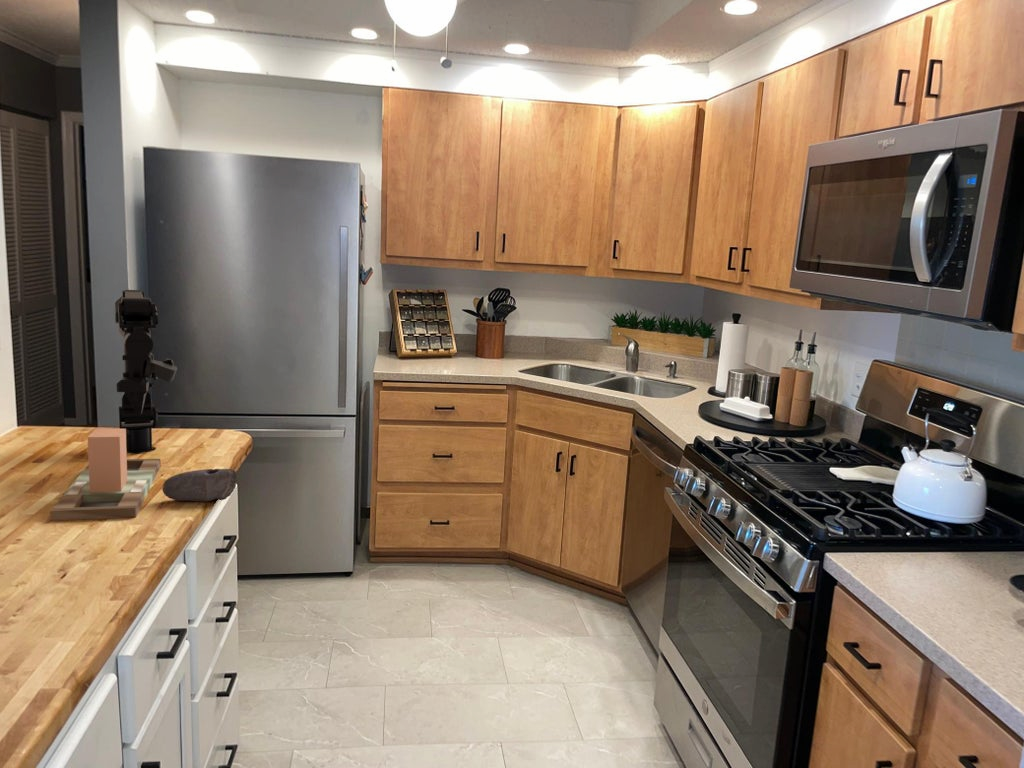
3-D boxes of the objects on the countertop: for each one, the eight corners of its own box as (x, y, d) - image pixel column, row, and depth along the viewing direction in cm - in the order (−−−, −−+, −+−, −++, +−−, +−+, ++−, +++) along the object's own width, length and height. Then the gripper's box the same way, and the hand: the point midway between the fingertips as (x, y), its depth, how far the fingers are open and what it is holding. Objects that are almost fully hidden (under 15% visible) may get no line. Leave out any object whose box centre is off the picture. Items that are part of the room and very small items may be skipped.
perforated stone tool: (160, 505, 160) (159, 473, 159) (165, 496, 165) (164, 466, 164) (234, 503, 164) (234, 473, 162) (237, 495, 169) (237, 466, 167)
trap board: (92, 467, 181) (92, 459, 180) (160, 466, 185) (160, 457, 185) (51, 520, 148) (50, 510, 147) (135, 517, 152) (135, 506, 152)
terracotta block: (97, 481, 165) (95, 428, 163) (127, 480, 167) (125, 428, 165) (89, 492, 159) (87, 437, 157) (121, 491, 161) (119, 436, 159)
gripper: (169, 357, 173) (170, 423, 176) (179, 345, 190) (180, 405, 193) (115, 356, 170) (117, 423, 172) (130, 344, 187) (132, 405, 190)
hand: (139, 414), depth 182 cm, fingers closed
